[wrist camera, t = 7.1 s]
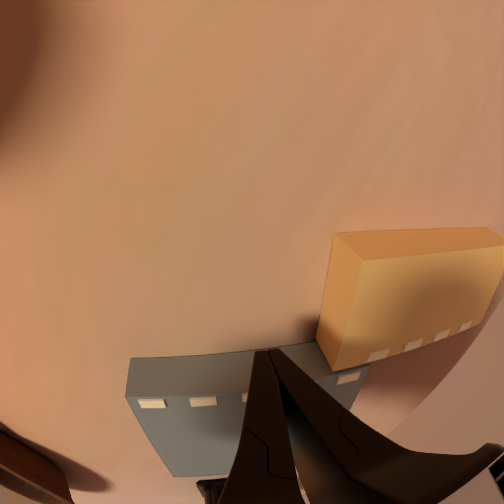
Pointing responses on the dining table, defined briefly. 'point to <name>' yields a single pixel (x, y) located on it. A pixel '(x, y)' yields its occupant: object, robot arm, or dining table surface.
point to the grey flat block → (214, 402)
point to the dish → (31, 474)
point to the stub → (405, 290)
